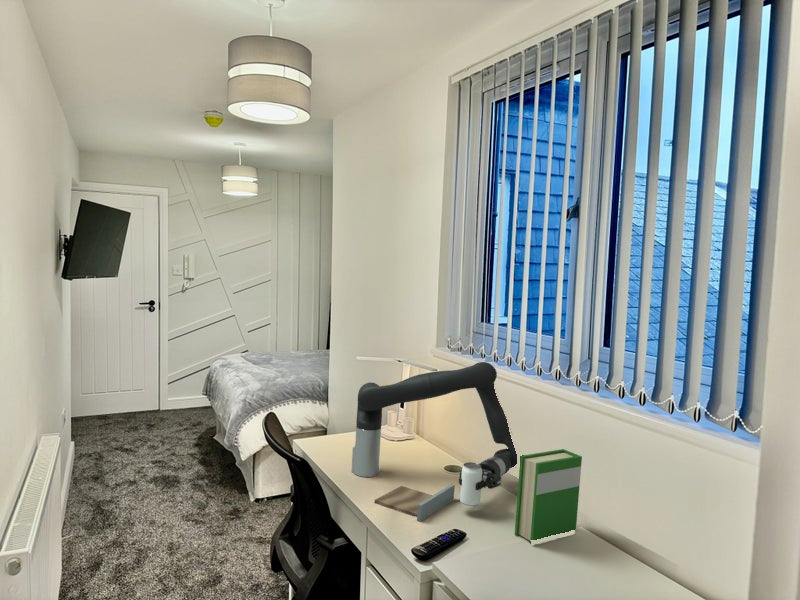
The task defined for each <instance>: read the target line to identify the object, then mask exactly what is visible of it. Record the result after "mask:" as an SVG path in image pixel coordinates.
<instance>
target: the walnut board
mask: <svg viewBox="0 0 800 600" xmlns="http://www.w3.org/2000/svg"><path fill="white" fill-rule="evenodd" d="M433 495H434V494H429V493H426V492H423V491H420V490H416V489H413V488H409V487H406V486H405V485H404V486H403V485H400V486H398V487H396V488H395V489H392V490H391V491H388V492H387V493H385V494H383V495H381V496H379V497H377V498H376V499H374V504H377V505H380V506H382V507H386V508H387V509H392V510H394V511H397V510H398V512H400V511H401V513H403V514H406V515H409V516H412V517H415V516H416V517H415V518H417V512H418V504H420V503H421V502H423V501H425V500H426V499H428V498H430V497H431V496H433Z"/></svg>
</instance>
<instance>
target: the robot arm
mask: <svg viewBox="0 0 800 600" xmlns="http://www.w3.org/2000/svg"><path fill="white" fill-rule="evenodd" d="M497 376H498V371H497V370H496V368H495V367H494V365H492V364H491V363H489V362H487V361H481V362H477V363H475V364H472V365H471V366H470V365H469V366H466V367H463V368H459V369H453V370H440V371H439V370H438V371H432V372H431V371H430V372H426V373H425V372H424V373H421V374H416V375H413V376H410V377H408V378H406V379H404V380H401V381H399V382H395V383H393V384H387V385H379V384H377V383H375V382H366V383H365V384H362V386H361V387H360V388H359V390H358V395H357V407H356V408H357V409H356V410H357V411H356V422H355V423H356V425H355V443H354V445H353V447H352V453H351V454H352V455H351V457H352V458H351V473H353V474H354V475H356V476H359V477H365V478H371V477H376V476H378V475H379V470H380V457H381V456H380V455H381V453H380V452H381V437H382V436H381V435H382V419H383V408H384V409H385V408H387V407H390V406H393V405H394V406H395V405H397V404H403V403H412V402H417V401H424V400H427V399H433V398H438V397H441V396H445V395H448V394H452V393H454V392H457V391H460V390H466V389H467V390H468V389H475V390H476V392H477V394H478V396H479V398H480V401H481V403H482V406H483V410H484V413H485V417H486V421H487V423H488V426H489V431H490V432H491V436H492V440H493V441H494V443H495V444H498V445H500V444H501V445H505V446H506V447H507V448H508V449H507V448H503V449H499V450H497V451H495V452H494V454H493V455H492V456H490V457H488V458H486V459H485V460H483V461H481V462H480V463H479V464H480V465H481V469H482V481H481V482H477V483H476V490H479V489H481V490H482V489H483V488H484V489H486V487H487V489H491V490H492V489H494V488H497V487H500V486H501V485H502V484H501V483H502V477H503V476H504V475H505V474H506V473H508V472H509V470H511V469H513V468H512V467H514V466H515V465H516V464H517V454H516V451H515V448H514V445H513V442H512V439H511V435H510V432H509V427H508V423H509V422H508V423H507V420H508V418H507V416H505V415H506V413H505V411H504V409H503V407H501V406H502V404H501V403H499V402H500V400H499V397H498V395H497V396H496V394H497V392H496V393H495V390H496V388H495V389H494V385H495V381H497V380H496V379H497ZM497 397H498V398H497ZM498 400H499V401H498ZM500 404H501V405H500ZM504 413H505V414H504ZM506 418H507V419H506ZM461 476H462V469H461V470H460V472H459V481H458V483H459V485H460V486H461V485H462V478H461Z"/></svg>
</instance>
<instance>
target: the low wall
mask: <svg viewBox="0 0 800 600" xmlns="http://www.w3.org/2000/svg"><path fill="white" fill-rule="evenodd" d="M455 486H456V485H455V484H453V483H451V484H449V485H448V486H446V487H445V488H443V489H441V490H440V491H438V492H436V493H434V494H432V495H433V496H431V497H430V498H428V499H426V500H425V501H423V502H421V503H420V504H418V512H417V517H416V521H418V522H420V521H421V522H422V521H424V520H425V519H427V518H428V517H429V515H430V516H431V515H432V513H433V514H434V513H435V512H438V511H439V510H440V509H442V508H444V507H445V506H446V505H448V504H450V503H451V502H452V501H453V499H455V488H456V487H455ZM426 517H427V518H426ZM423 519H424V520H423Z"/></svg>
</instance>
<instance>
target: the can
mask: <svg viewBox="0 0 800 600" xmlns="http://www.w3.org/2000/svg"><path fill="white" fill-rule="evenodd" d="M461 470H462V476H461V478H462V485H460V496H459V500H460V502H461V503H462V504H463V505H465V506H469V507H470V506H471V507H475V506H478V505H480V504H481V499H482V496H481V495H482V489H479V490H476V483H477V482H481V481H482V469H481V465H480V463H477V462H473V461H472V462H464V463H463V466H462V469H461Z"/></svg>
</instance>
